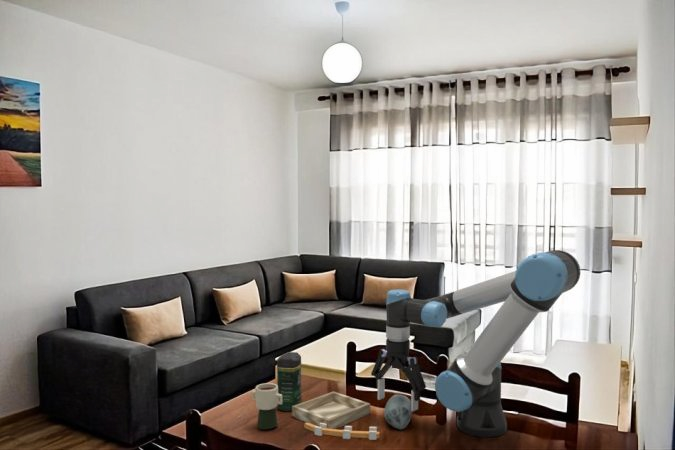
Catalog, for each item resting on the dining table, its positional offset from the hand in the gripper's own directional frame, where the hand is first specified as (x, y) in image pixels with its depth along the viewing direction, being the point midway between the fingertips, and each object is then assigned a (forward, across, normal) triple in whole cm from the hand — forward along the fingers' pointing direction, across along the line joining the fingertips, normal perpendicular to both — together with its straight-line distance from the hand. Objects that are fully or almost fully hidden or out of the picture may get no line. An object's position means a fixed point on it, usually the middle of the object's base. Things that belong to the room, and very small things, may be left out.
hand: (397, 404), depth 172 cm
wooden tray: (+6, +20, +10) cm, 23 cm away
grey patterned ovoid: (+6, 0, 0) cm, 6 cm away
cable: (+6, +8, +18) cm, 20 cm away
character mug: (+7, +28, +31) cm, 42 cm away
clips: (+6, +5, +18) cm, 20 cm away
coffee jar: (+7, +36, +15) cm, 39 cm away
